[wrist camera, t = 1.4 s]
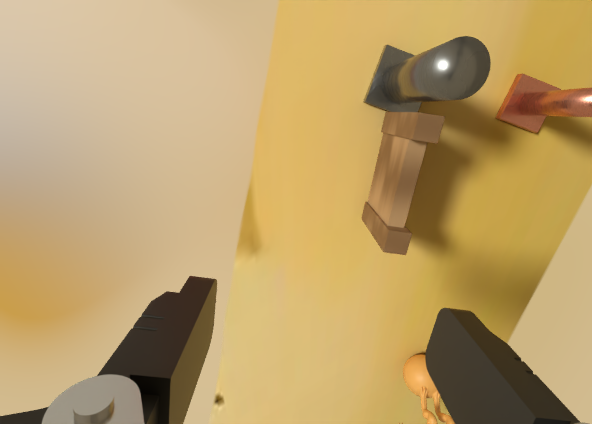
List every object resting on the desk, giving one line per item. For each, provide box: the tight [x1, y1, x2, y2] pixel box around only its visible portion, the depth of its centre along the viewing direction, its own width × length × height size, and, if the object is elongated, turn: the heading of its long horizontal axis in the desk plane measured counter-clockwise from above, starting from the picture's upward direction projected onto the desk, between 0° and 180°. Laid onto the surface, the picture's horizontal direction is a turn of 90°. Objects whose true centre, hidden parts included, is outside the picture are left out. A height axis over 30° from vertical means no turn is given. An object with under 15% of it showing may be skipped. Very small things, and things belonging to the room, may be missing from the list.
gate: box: [362, 112, 445, 255], centre depth 24 cm, size 9×2×7 cm, turn 171°
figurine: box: [399, 354, 455, 424], centre depth 29 cm, size 8×6×12 cm
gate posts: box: [364, 36, 592, 133], centre depth 22 cm, size 6×15×10 cm, turn 71°
